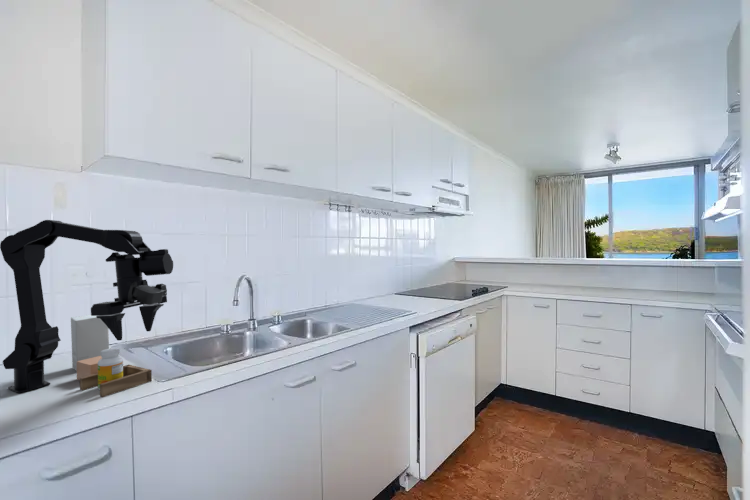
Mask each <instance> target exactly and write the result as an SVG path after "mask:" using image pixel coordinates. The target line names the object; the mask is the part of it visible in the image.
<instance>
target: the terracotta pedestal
mask: <svg viewBox="0 0 750 500" xmlns="http://www.w3.org/2000/svg"><path fill="white" fill-rule="evenodd" d="M100 359H102V357H101V356H97V357H93V358H89V359H85V360H80V361H77V371H76V380H77V381H80V378H82V377H86V376H89V375H93V374H96V373H98V361H99V360H100Z"/></svg>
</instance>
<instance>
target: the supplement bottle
mask: <svg viewBox="0 0 750 500" xmlns="http://www.w3.org/2000/svg"><path fill="white" fill-rule="evenodd" d="M120 350H121V349H120V348H118V347H112V348H110V347H109V349H105V350H102V351H101V357H102V359H100V360H99V361H98V386H97V390H98V391H100V384H102V383H105V382H108V381H112V380H115V379H118V378H122V377H123V366H124V359H123V357H122V356H119V355H120V353H121V351H120Z"/></svg>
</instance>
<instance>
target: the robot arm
mask: <svg viewBox="0 0 750 500" xmlns="http://www.w3.org/2000/svg"><path fill="white" fill-rule="evenodd" d="M58 238H65V239H70V240H75V241H82V242H87V243H93V244H97V245H100V246H102V247H103V248H105V249H108V250H111V251H113V252H112V253H111V254H110V255H109V256H108V257H107V258H106V259H105V262H107V263H108V262H109V263H110V262H114V265H115V275H116V282H113V283H112V286H113V288H115V287H117V296H118V297H115V298H114V299H113V300H114V301H104V302H99V303H93V304H92V306H91V307H90V315H91V316H96V318H100V319H101V320H102V321H103V322H104V323H105V324H106V326H107V327H108V330H109V331H110V332H111V334H112V335H113V337H115V339H116V340H117V341H122V340H123V318H124V316H125V314H126V313H125V312H124V313H122V312H123V311H124V310H125V309H129V308H133V307H137V306H139V307H138V308H139V312H140V315H141V318H142V322H143V325H144V329H145V331H146V332H151V331H152V329H153V324H154V321H155V318H156V315H157V312H158V311H159V309H161V307H164V305H165V304H166V303H168V299H167V298H168V297H167V294H168V293H167V291H168V289H167V285H166V284H163V283H157V284H156V285H152V286H150V285H149V284H148V280H147V279H143V274H144V275H145V276H146V277H150V276H160V275H161V276H162V275H170V274H172V272H173V269H174V260H173V259H172V256H171V254H170V253H169V249H168V248H164V249H161V248H159V249H157V250H152V249H151V248H150V247H149V246H148V245H147V244H146V243H145V241H143V236H142V235H141V233H139V232H138V231H136V230H124V229H100V228H94V227H90V226H84V225H79V224H78V225H77V224H73V223H68V222H63V221H62V220H54V219H44V220H41V221H39V222H38V223H36V224H34V225H33V226H30V227H28V228H25V229H23V230H19V231H17V232H16V233H14V234H11V235H7V236H6V237H5V238H3V240H1V241H0V252H1V255H2V258H3V261H4V262H5V264H7V266H9V267H10V268H11V270H12V271H13V275H14V276H13V277H14V285H15V292H16V299H17V306H18V312H19V313H18V314H19V320H20V321H19V322H20V327H19V330H18V332H17V333H16V336H15V338H14V350H13V351H11V352H10V353H9V354H8V355H7V356H6V357H5V359H3V360H2V364H3V367H4V369H5V370H13V385H10V386H8V387H7V390H9V391H12V392H14V393H18V394H20V393H25V392H28V391H33V390H36V389H39V388H43V387H46V386H50V385H51V382H49V381H46V380H45V361H47V360H50V359H52V356H53V354H54V352H55V350H57V349H58V347H59V342H60V341H62V340H61V338H60V337H59V336H60V335H59V327H58V326H51V325H50V324H49V322H48V321H47V315H46V308H45V307H46V306H45V301H44V293H43V286H42V279H41V271H40V268H41V265H42V264H43V261H44V260H45V257H46V256H45V255H46V248H48V247H50V246H52V245H53V244H54V243H56V241H57V239H58ZM121 253H124V254H121ZM137 255H139V257H135V256H137ZM164 303H165V304H164Z"/></svg>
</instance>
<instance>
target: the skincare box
mask: <svg viewBox="0 0 750 500" xmlns="http://www.w3.org/2000/svg"><path fill="white" fill-rule="evenodd" d="M70 330H71V331H70V332H71V333H70V334H71V364H72V366H71V367H72V369H73V370H75V372H77V361H80V360H85V359H89V358H93V357H97V356H101V351H102V350H105V349H110V337H109V335H110V334H109V331H110V329H109V328H108V327H107V326H106V324H105V323H104V322H103V321H102V320H101V319H100V318H96V316H91V314H88V315H87V314H86V315H81V316H73V317H70Z"/></svg>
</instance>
